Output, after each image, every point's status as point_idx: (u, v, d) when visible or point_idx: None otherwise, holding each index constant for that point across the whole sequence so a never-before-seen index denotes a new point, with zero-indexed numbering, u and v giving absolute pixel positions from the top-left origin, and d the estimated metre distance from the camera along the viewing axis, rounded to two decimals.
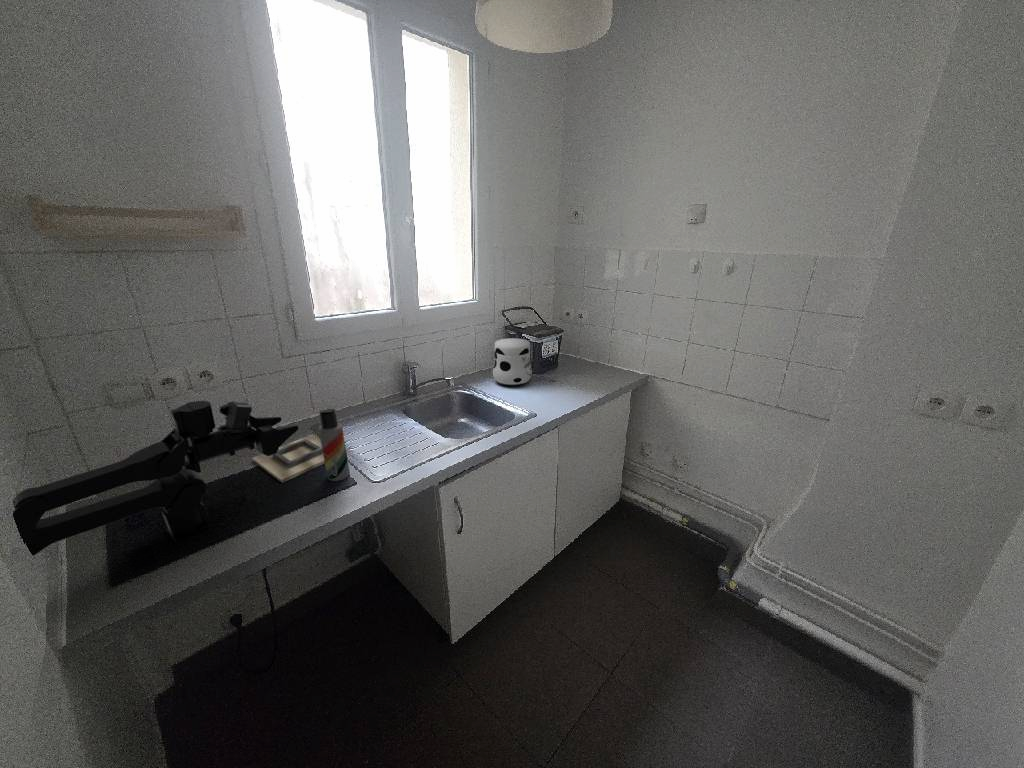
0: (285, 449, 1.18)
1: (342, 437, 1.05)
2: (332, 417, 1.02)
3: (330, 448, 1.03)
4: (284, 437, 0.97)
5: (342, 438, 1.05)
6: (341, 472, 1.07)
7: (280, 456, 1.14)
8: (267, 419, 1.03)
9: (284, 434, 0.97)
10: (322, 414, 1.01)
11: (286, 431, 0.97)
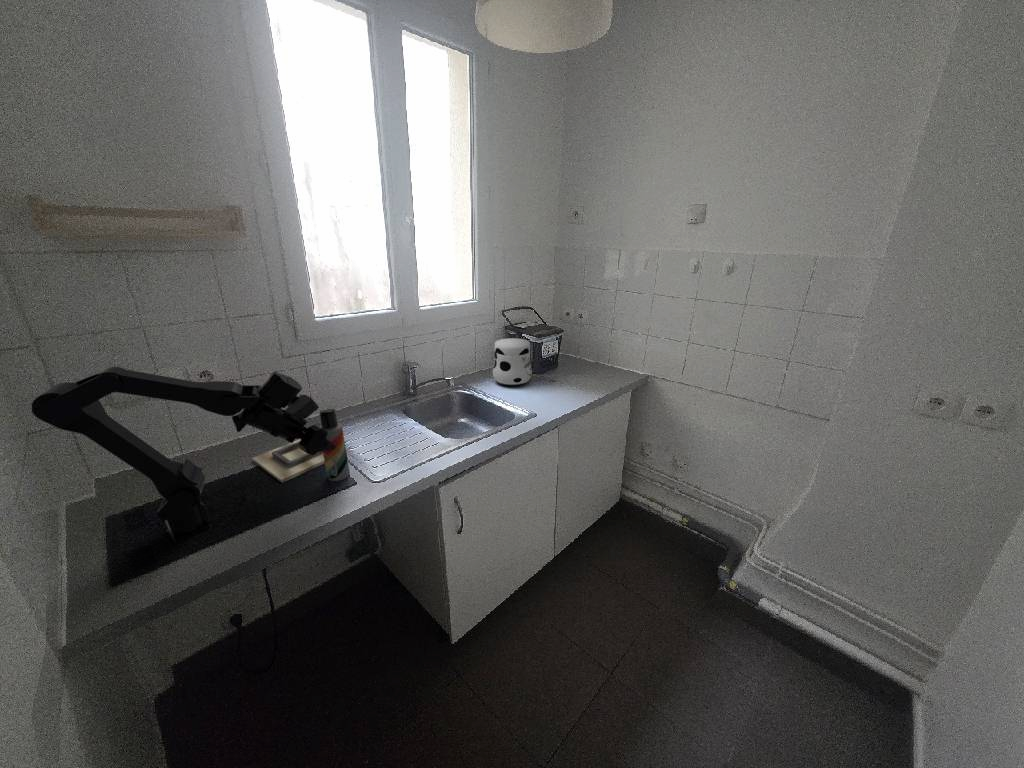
0: (285, 449, 1.18)
1: (342, 437, 1.05)
2: (332, 417, 1.02)
3: None
4: (323, 448, 0.97)
5: (342, 438, 1.05)
6: (341, 472, 1.07)
7: (280, 456, 1.14)
8: None
9: (324, 445, 0.97)
10: (322, 414, 1.01)
11: (327, 444, 0.98)
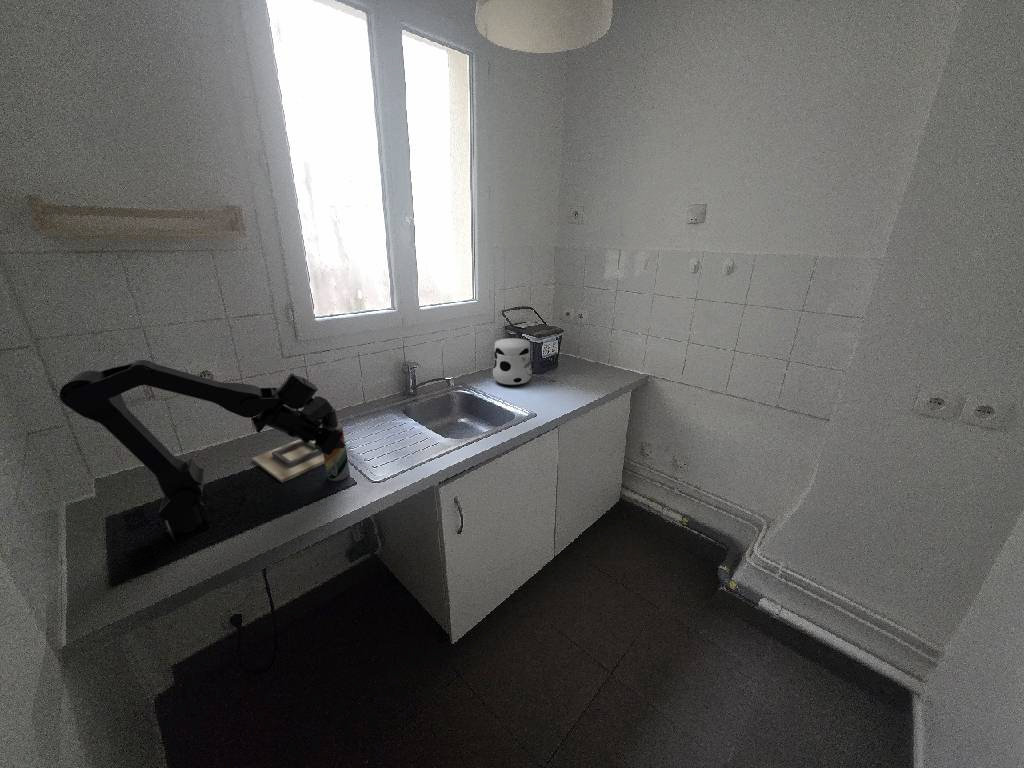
0: (285, 449, 1.18)
1: (342, 437, 1.05)
2: (332, 417, 1.02)
3: None
4: None
5: (342, 438, 1.05)
6: (341, 472, 1.07)
7: (280, 456, 1.14)
8: None
9: None
10: None
11: (337, 442, 1.02)
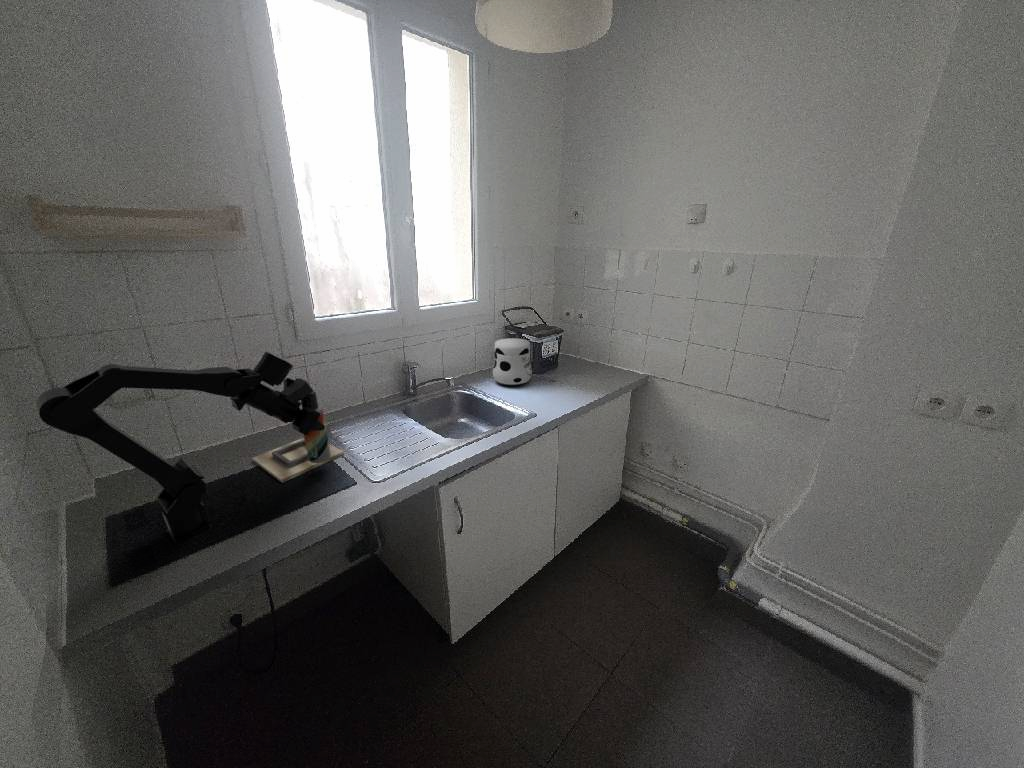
0: (285, 449, 1.18)
1: (322, 419, 1.07)
2: (312, 399, 1.04)
3: None
4: (312, 427, 1.03)
5: (322, 420, 1.07)
6: (321, 454, 1.08)
7: (280, 456, 1.14)
8: None
9: (314, 425, 1.04)
10: None
11: (316, 424, 1.04)
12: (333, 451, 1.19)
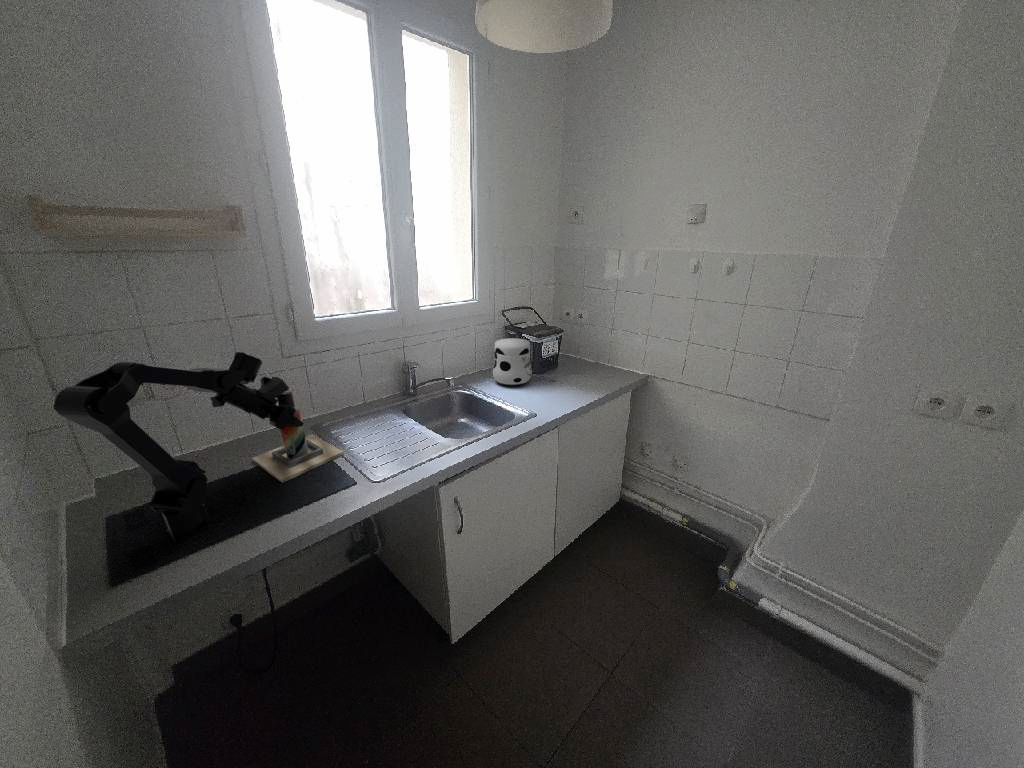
0: None
1: (299, 418, 1.13)
2: (288, 399, 1.10)
3: (287, 428, 1.11)
4: (290, 423, 1.09)
5: (299, 419, 1.13)
6: (299, 451, 1.14)
7: (280, 456, 1.14)
8: None
9: (292, 421, 1.09)
10: (279, 396, 1.09)
11: (295, 420, 1.10)
12: (333, 451, 1.19)
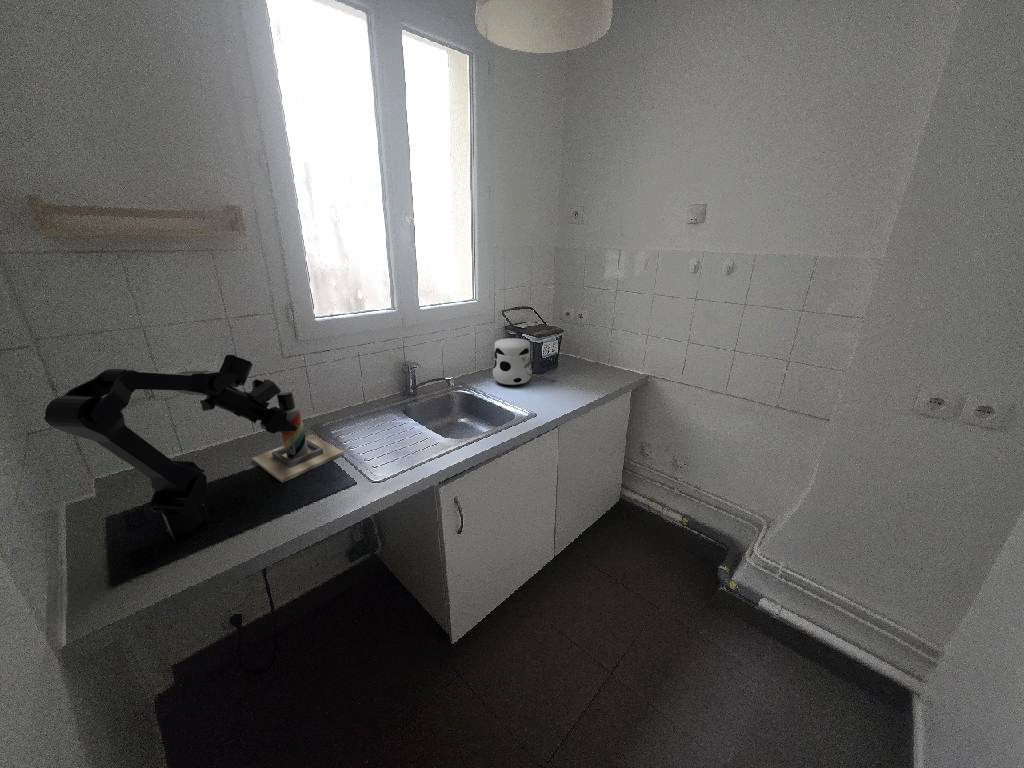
0: None
1: (299, 419, 1.13)
2: (289, 399, 1.10)
3: None
4: (284, 428, 1.06)
5: (299, 420, 1.13)
6: (299, 451, 1.14)
7: (280, 456, 1.14)
8: None
9: (285, 426, 1.07)
10: (279, 397, 1.09)
11: (288, 425, 1.07)
12: (333, 451, 1.19)
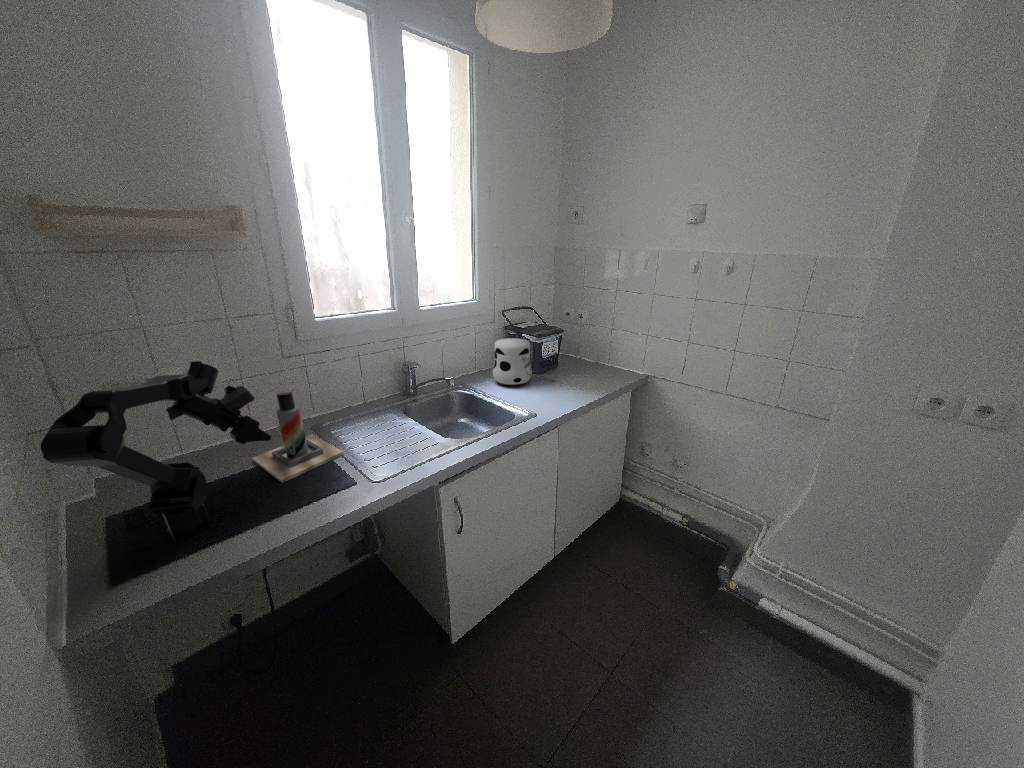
0: None
1: (299, 418, 1.13)
2: (289, 399, 1.10)
3: (287, 428, 1.11)
4: (256, 438, 1.01)
5: (299, 419, 1.13)
6: (299, 451, 1.14)
7: (280, 456, 1.14)
8: None
9: (258, 435, 1.02)
10: (279, 397, 1.09)
11: (261, 434, 1.02)
12: (333, 451, 1.19)
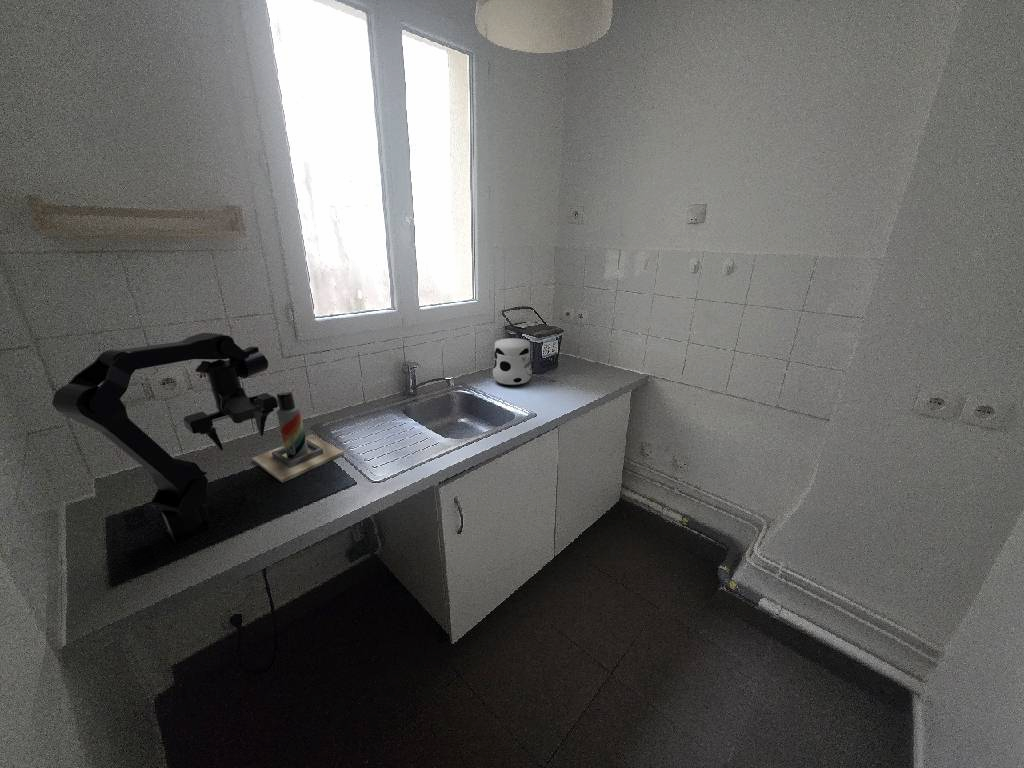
0: None
1: (299, 419, 1.13)
2: (289, 399, 1.10)
3: (287, 428, 1.11)
4: (209, 436, 0.95)
5: (299, 419, 1.13)
6: (299, 451, 1.14)
7: (280, 456, 1.14)
8: (260, 425, 1.02)
9: None
10: (279, 397, 1.09)
11: (212, 439, 0.95)
12: (333, 451, 1.19)
